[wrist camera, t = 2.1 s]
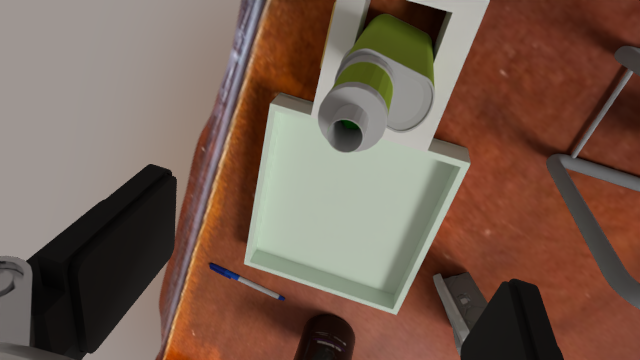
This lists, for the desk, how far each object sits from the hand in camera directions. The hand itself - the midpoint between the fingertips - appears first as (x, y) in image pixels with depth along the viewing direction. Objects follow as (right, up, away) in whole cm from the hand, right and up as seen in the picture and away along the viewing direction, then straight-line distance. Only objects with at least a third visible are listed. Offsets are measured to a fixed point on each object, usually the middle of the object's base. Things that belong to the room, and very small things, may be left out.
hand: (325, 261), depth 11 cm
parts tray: (+3, 0, +32) cm, 32 cm away
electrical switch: (+16, -11, +35) cm, 40 cm away
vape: (+6, +14, +23) cm, 27 cm away
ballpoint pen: (-9, -10, +41) cm, 44 cm away
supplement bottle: (+1, -17, +42) cm, 46 cm away
